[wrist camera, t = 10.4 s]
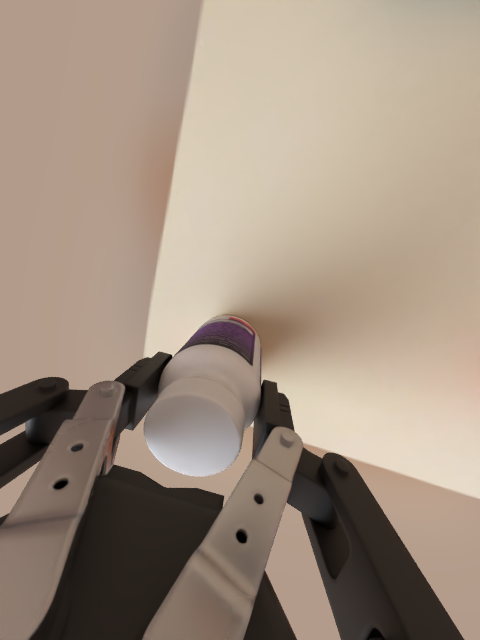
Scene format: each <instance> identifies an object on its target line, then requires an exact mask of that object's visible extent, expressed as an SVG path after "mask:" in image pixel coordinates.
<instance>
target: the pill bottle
mask: <svg viewBox="0 0 480 640" xmlns="http://www.w3.org/2000/svg"><path fill="white" fill-rule="evenodd" d="M260 401H261V344H260V339H259V337H258V335H257V333H256V331H255V330H254V328H253V327H252V326H251V325H250V324H249V323H247V322H246V321H245V320H243V319H241V318H238V317H235V316H230V315H223V316H217V317H214V318H212V319H210V320H208V321H207V322H205V323H204V324H203V325H202V326H201V327H200V328H199V329H198V330H197V331H196V333H195V334H194V335H193V336H192V337H191V338H190V339H189V340H188V342H187V343H186V344H185V345H184V346H183V347H182V348H181V349H180V350H179V351H178V352H177V353H176V354H175V356H174V357H173V358H172V359H171V360H170V361H169V363H168V364H167V365H166V367H165V368H164V370H163V372H162V374H161V377H160V380H159V385H158V398H157V400H156V401H155V402H154V404H153V405H152V407H151V408H150V410H149V411H148V413H147V415H146V418H145V422H144V435H145V439H146V442H147V445H148V447H149V449H150V450H151V452H152V453H153V455H154V456H155V457H156V458H157V459H158V460H159V461H160V462H161V463H163V464H164V465H165V466H167V467H168V468H170V469H172V470H174V471H176V472H178V473H181V474H185V475H189V476H209V475H213V474H217V473H219V472H221V471H223V470H225V469H226V468H228V467H229V466H230V465H232V463H233V462H234V461H235V460H236V458H237V456H238V454H239V452H240V449H241V445H242V439H243V433H244V431H245V430H246V429H247V428H248V427H249V426H250V425H251V424H252V422H253V421H254V419H255V417H256V415H257V413H258V410H259V407H260Z"/></svg>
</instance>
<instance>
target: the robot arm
mask: <svg viewBox="0 0 480 640" xmlns="http://www.w3.org/2000/svg"><path fill="white" fill-rule="evenodd" d="M171 359H172V355H171V354H167V353H163V352H158V353H157V354H156V355H154V356H153V357H152V358H148V357H147V358H144V359H142V360H139V361H138V362H136V364H134V365H133V366H131V367H130V368H129V369H128V370H126V371H125V372H124V373H123V374H122V375H120V376H119V377H118V378H116V379H115V380H114V381H103V382H99V383H96V384H94V385H93V386H91V387H90V388H89V390H69V383H68V381H67V380H65V379H63V378H59V377H48V378H42V379H38V380H35V381H33V382H30V383H28V384H26V385H23V386H20V387H18V388H15V389H13V390H10V391H8V392H5V393H3V394H0V435H2V434H4V433H6V432H8V431H10V430H11V429H13V428H15V427H17V426H19V425H21V424H23V423H25V424H26V430H25V431H24V432H22V433H20V434H18V435H17V436H15V437H13V438H11V439H9V440H7V441H6V442H4V443H2V444H0V488H2V487H3V486H5V485H6V484H7V483H9V482H10V481H12V480H13V479H15V478H16V477H17V476H19V475H20V474H22V473H23V472H25V471H26V470H27V469H29V468H30V467H32V466H33V465H34V464H36V463H37V462H39V461H40V460H41V461H40V463H39V464H38V466H37V468H36V469H35V471H34V473H33V474H32V476H31V478H30V480H29V481H28V483H27V485H26V487H25V488H24V490H23V492H22V493H21V495H20V497H19V498H18V500H17V502H16V504H15V505H14V507H13V509H12V510H11V512H10V513H9V514H7V515H5V516H3V517H1V518H0V640H297V639H296V637H295V634H294V632H293V630H292V628H291V626H290V624H289V621H288V619H287V617H286V615H285V613H284V611H283V609H282V606H281V604H280V602H279V600H278V598H277V595H276V593H275V592H274V589H273V587H272V585H271V582H270V580H269V578H268V576H267V574H266V572H265V567H266V564H267V561H268V557H269V554H270V551H271V548H272V545H273V542H274V539H275V536H276V533H277V530H278V527H279V523H280V520H281V517H282V514H283V511H284V508H285V505H286V502H287V503H288V504H290V505H291V506H293V507H294V508H296V509H297V510H299V511H300V512H302V517H303V520H304V523H305V527H306V530H307V533H308V536H309V539H310V542H311V546H312V548H313V552H314V555H315V558H316V561H317V565H318V568H319V571H320V574H321V577H322V580H323V584H324V587H325V590H326V593H327V596H328V599H329V603H330V606H331V609H332V612H333V615H334V618H335V622H336V625H337V628H338V631H339V634H340V637H341V640H464V639H463V637H462V635H461V634H460V632H459V631H458V629H457V627H456V626H455V624H454V623H453V621H452V620H451V618H450V616H449V615H448V613H447V612H446V610H445V608H444V607H443V605H442V604H441V602H440V601H439V599H438V597H437V596H436V594H435V593H434V591H433V590H432V588H431V586H430V585H429V583H428V582H427V580H426V578H425V577H424V575H423V574H422V572H421V571H420V569H419V568H418V566H417V564H416V563H415V562H414V559H413V558H412V556H411V555H410V553H409V552H408V550H407V548H406V547H405V545H404V544H403V542H402V541H401V539H400V537H399V536H398V534H397V533H396V531H395V529H394V528H393V526H392V525H391V523H390V521H389V520H388V518H387V517H386V515H385V514H384V512H383V510H382V509H381V507H380V506H379V504H378V503H377V501H376V500H375V498H374V496H373V495H372V493H371V492H370V490H369V488H368V487H367V485H366V484H365V482H364V480H363V479H362V477H361V476H360V474H359V473H358V471H357V469H356V468H355V467H354V466H353V464H352V463H351V462H349V461H348V460H347V459H346V458H344V457H343V456H341V455H339V454H336V453H326V454H325V455H324V457H323V459H322V458H320V457H318V456H317V455H314V454H313V453H311V452H309V451H308V450H306V449H305V448H304V447H303V442H302V440H301V438H300V437H299V435H298V434H297V433H295V431H294V426H293V421H292V416H291V410H290V405H289V400H288V399H287V397H286V396H285V395H284V394H283V393H279V392H278V390H277V383H275V382H272V381H268V380H263V383H262V386H261V401H260V407H259V410H258V413H257V415H256V417H255V419H254V432H253V451H252V452H253V453H252V460H251V462H250V463H249V465H248V467H247V469H246V470H245V472H244V473H243V475H242V477H241V479H240V480H239V482H238V483H237V485H236V487H235V489H234V490H233V492H232V494H231V495H230V497H229V498H228V500H227V502H226V504H225V505H224V507H223V501H224V496H223V495H219V494H216V493H212V492H208V491H205V490H202V489H198V488H166V487H163V486H161V485H160V484H158V483H157V482H155V481H154V480H152V479H150V478H149V477H147V476H146V475H144V474H142V473H141V472H138V471H134V470H131V469H128V468H124V467H120V466H117V465H113V463H114V459H115V455H116V451H117V447H118V443H119V439H120V433H121V432H122V431H123V430H124V429H129V430H134V428H135V427H136V426H137V424H138V423H139V422H140V421H141V419H142V418H143V417H144V415H145V414H146V413H147V411H148V410H149V409H150V408H151V406H152V405H153V404H154V402H155V401H156V400H157V398H158V385H159V380H160V377H161V374H162V372H163V370H164V368H165V367H166V365H167V364H168V363H169V361H170V360H171Z"/></svg>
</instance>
